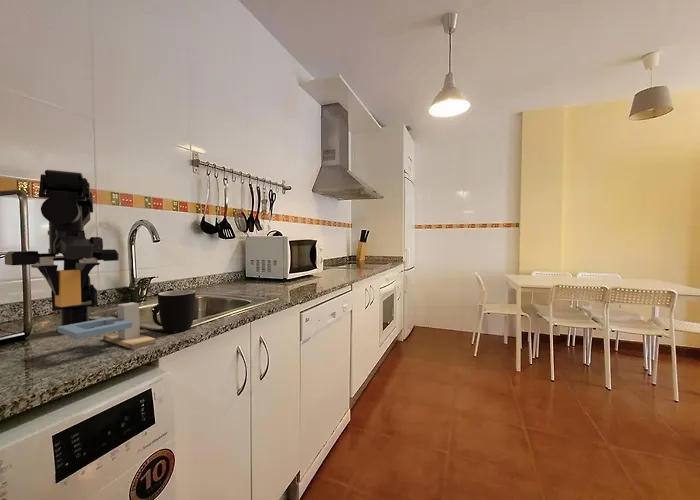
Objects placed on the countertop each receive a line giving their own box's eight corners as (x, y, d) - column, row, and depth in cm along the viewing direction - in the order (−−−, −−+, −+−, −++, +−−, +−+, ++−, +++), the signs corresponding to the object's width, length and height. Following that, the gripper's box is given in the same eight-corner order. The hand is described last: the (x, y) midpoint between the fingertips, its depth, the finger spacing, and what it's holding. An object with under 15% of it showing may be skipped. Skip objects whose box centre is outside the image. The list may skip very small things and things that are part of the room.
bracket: (58, 347, 68) (57, 311, 68) (126, 332, 80) (125, 301, 79) (77, 356, 63) (76, 316, 63) (147, 338, 75) (146, 305, 74)
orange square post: (55, 305, 72) (54, 270, 72) (75, 302, 75) (74, 269, 75) (61, 307, 70) (60, 271, 70) (81, 304, 73) (80, 270, 73)
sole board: (103, 339, 77) (103, 335, 77) (126, 334, 82) (126, 330, 82) (132, 349, 70) (132, 344, 70) (155, 342, 74) (155, 338, 74)
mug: (177, 324, 91) (176, 289, 91) (203, 326, 89) (202, 290, 89) (139, 336, 80) (139, 296, 80) (168, 338, 78) (167, 298, 77)
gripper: (19, 223, 60) (22, 304, 60) (128, 226, 76) (130, 291, 76) (2, 225, 66) (5, 299, 66) (107, 228, 82) (109, 287, 82)
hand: (68, 293), depth 73 cm, fingers closed on orange square post, 4 cm apart
